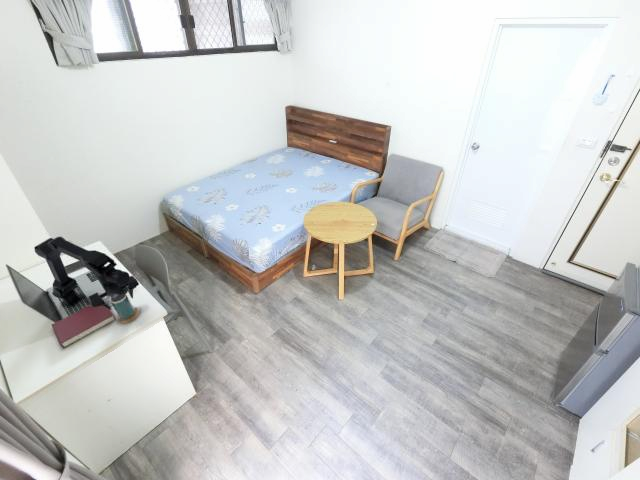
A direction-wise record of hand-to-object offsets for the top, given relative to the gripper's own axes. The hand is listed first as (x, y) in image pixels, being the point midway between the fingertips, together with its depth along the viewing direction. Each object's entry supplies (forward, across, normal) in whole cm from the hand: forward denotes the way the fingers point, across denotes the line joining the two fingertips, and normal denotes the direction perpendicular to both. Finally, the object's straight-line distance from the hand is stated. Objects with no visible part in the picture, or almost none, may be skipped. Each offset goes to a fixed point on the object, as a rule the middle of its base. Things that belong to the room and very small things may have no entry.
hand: (121, 303), depth 139 cm
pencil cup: (+6, 0, +5) cm, 8 cm away
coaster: (+8, 0, 0) cm, 8 cm away
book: (+8, -16, +10) cm, 20 cm away
